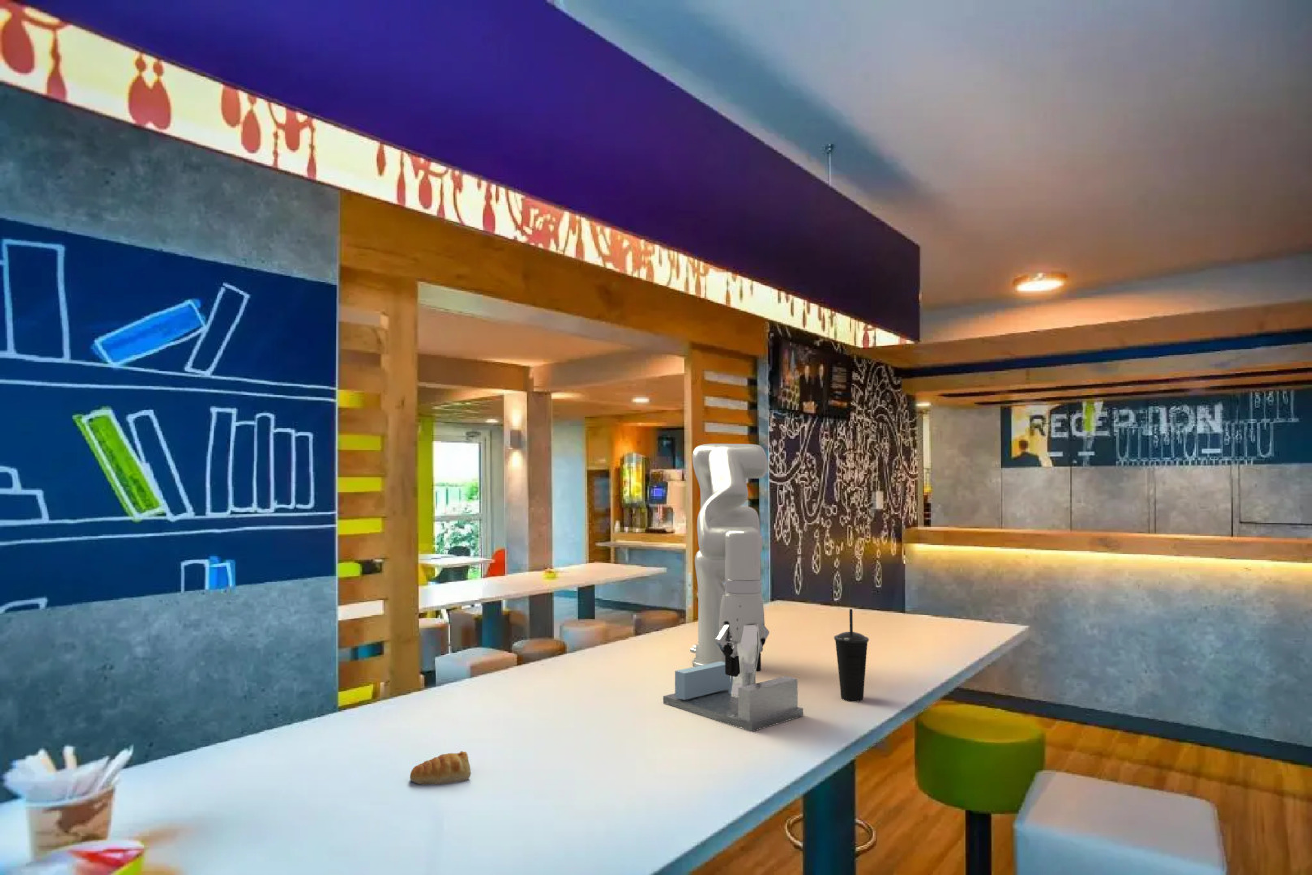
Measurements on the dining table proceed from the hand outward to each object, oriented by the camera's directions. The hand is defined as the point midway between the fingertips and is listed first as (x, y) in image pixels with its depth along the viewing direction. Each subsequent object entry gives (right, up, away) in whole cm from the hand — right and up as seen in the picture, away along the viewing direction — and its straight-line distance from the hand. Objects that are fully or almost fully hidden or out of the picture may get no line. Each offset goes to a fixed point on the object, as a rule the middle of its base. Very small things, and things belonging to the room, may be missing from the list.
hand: (743, 672), depth 161 cm
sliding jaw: (-8, -7, +9) cm, 14 cm away
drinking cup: (+26, -10, +11) cm, 30 cm away
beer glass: (0, -5, 0) cm, 5 cm away
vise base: (-2, -9, +2) cm, 9 cm away
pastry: (-53, -6, -37) cm, 65 cm away
